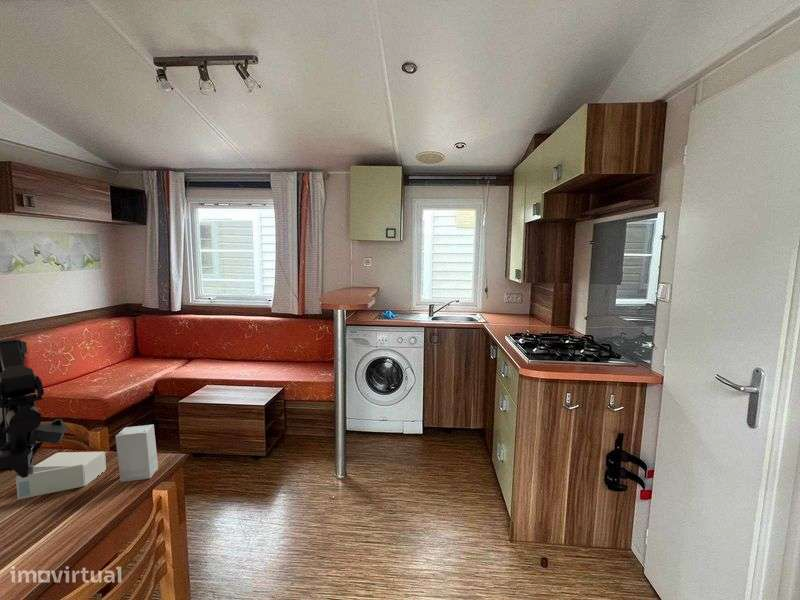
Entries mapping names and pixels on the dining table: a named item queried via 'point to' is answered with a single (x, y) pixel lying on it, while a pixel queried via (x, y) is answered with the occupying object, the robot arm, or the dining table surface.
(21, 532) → the dining table surface
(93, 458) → the carton
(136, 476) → the skincare box
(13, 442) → the robot arm
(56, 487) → the pale grey panel
